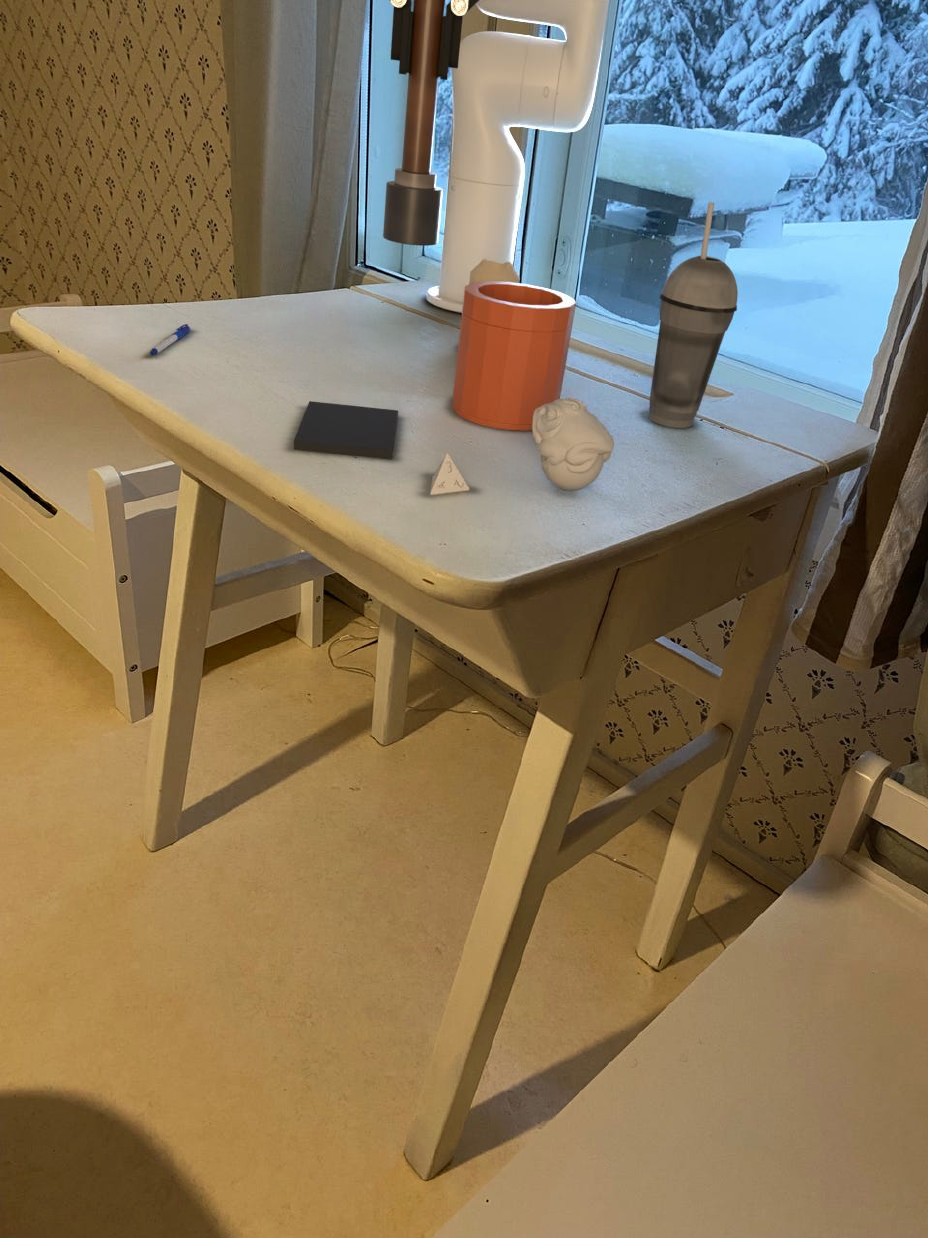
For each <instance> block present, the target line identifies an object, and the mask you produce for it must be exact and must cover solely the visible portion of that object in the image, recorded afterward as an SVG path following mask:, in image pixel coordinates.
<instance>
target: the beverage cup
mask: <svg viewBox="0 0 928 1238" xmlns="http://www.w3.org/2000/svg"><path fill="white" fill-rule="evenodd" d="M714 208H715V202H710V201H709V202H708V205H707V211H706V217H705V223H704V231H703V236H702V244H701V249H700V255H697V256H693V257H690V258H687V259H685V260H684V261H682V262H680V263H679V264H678V265H676V267H675V268H674V269H673V270H672V271H671V272H670V274H669V275H668V277H667V278H666V280H665V282H664V285H663V288H662V291H661V293H660V295H659V299H660V304H659V329H658V336H657V343H656V351H655V358H654V365H653V366H654V367H653V372H652V380H651V387H650V394H649V406H648V407H649V408H648V414H647V418H648V419H649V421H651V422H653V423H656V424H657V425H660V426H664V427H668V428H676V429H685V428H687V429H688V428H691V427H692V426H693V424H694V421H695V419H696V416H697V414H698V411H699V409H700V407H701V404H702V400H703V398H704V395H705V392H706V389H707V387H708V383H709V380H710V378H711V374H712V371H713V369H714V366H715V363H716V360H717V357H718V355H719V351H720V348H721V345H722V343H723V341H724V340H723V339H724V338H725V337H724V336H725V334H726V332H727V331H728V330H729V327H730V326H731V323H732V321H733V318H734V315H735V312H737V311H738V305H737V304H738V296H739V295H738V294H739V292H738V291H739V290H738V285H737V281H736V278H735V274H734V273H733V270H732V269H731V268H730V266H729V265H727V263H725V262H724V261H723V260H721V259H719V258H717V257H714V256H708V248H709V242H710V235H711V228H712V222H713V214H714Z"/></svg>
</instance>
